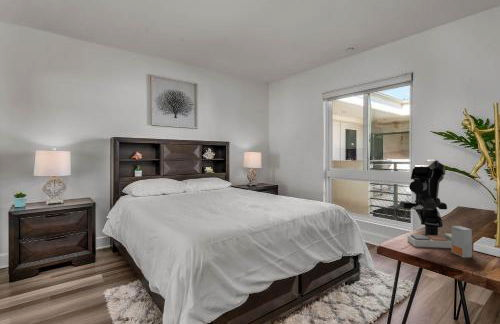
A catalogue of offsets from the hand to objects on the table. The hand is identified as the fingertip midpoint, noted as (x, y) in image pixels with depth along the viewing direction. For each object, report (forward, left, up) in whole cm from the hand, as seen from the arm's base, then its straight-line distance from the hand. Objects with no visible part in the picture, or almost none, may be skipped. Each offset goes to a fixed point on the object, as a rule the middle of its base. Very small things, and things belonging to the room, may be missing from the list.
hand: (422, 222), depth 126 cm
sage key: (0, +13, -8) cm, 16 cm away
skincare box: (+13, +10, -11) cm, 19 cm away
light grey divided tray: (0, +6, -11) cm, 12 cm away
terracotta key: (0, +6, -9) cm, 11 cm away
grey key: (0, -1, -9) cm, 9 cm away
